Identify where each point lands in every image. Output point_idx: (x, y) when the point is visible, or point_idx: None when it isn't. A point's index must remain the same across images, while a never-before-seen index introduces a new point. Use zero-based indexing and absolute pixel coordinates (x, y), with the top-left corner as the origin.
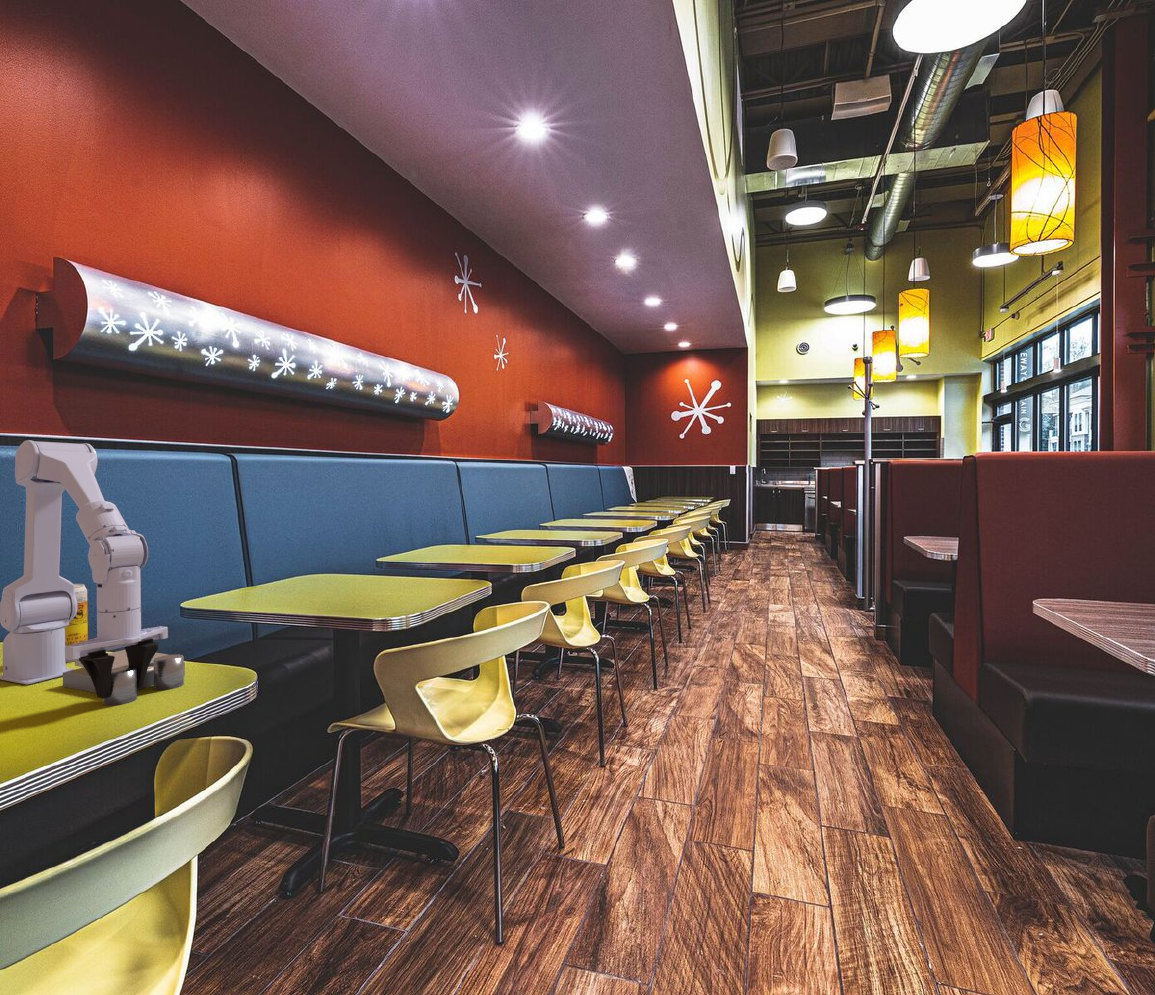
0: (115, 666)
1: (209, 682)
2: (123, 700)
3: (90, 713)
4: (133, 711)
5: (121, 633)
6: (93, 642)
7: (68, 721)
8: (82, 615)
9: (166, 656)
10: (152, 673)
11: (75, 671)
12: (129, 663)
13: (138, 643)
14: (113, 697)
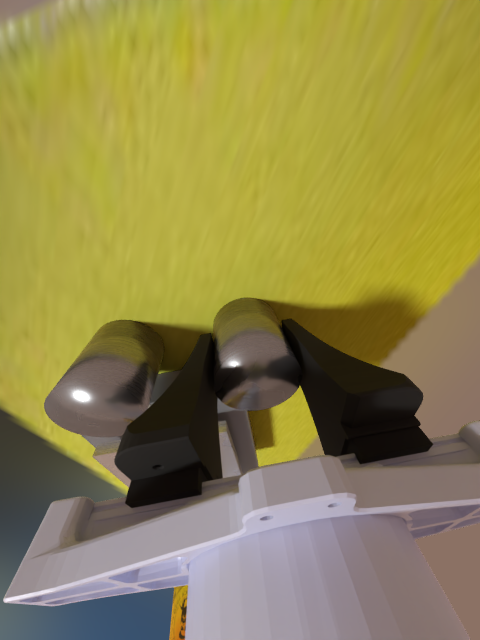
0: (220, 439)
1: (22, 294)
2: (255, 302)
3: (321, 292)
4: (273, 209)
5: (390, 587)
6: (435, 516)
7: (371, 276)
8: (182, 605)
9: (101, 428)
10: (151, 397)
11: (246, 467)
12: (217, 415)
13: (201, 482)
14: (274, 316)
